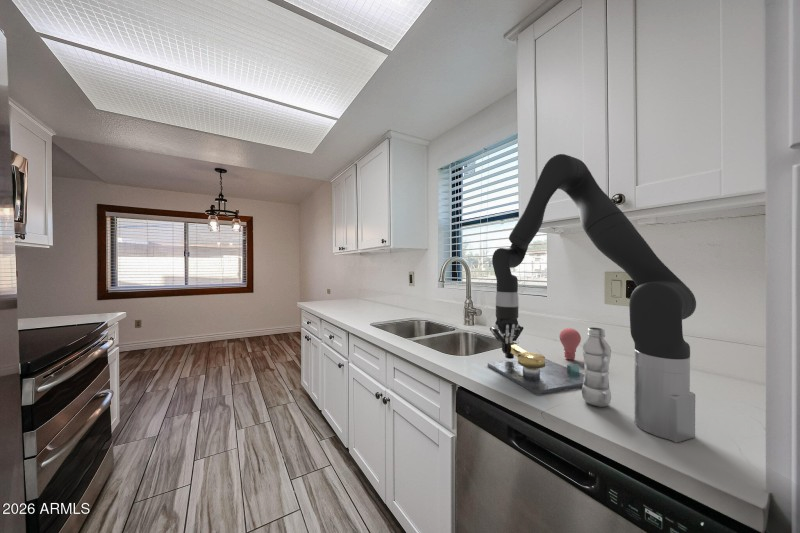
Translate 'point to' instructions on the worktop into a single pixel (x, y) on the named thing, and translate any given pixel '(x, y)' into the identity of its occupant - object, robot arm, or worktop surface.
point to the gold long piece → (526, 357)
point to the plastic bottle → (596, 368)
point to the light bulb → (570, 342)
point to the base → (541, 376)
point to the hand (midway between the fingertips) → (506, 353)
